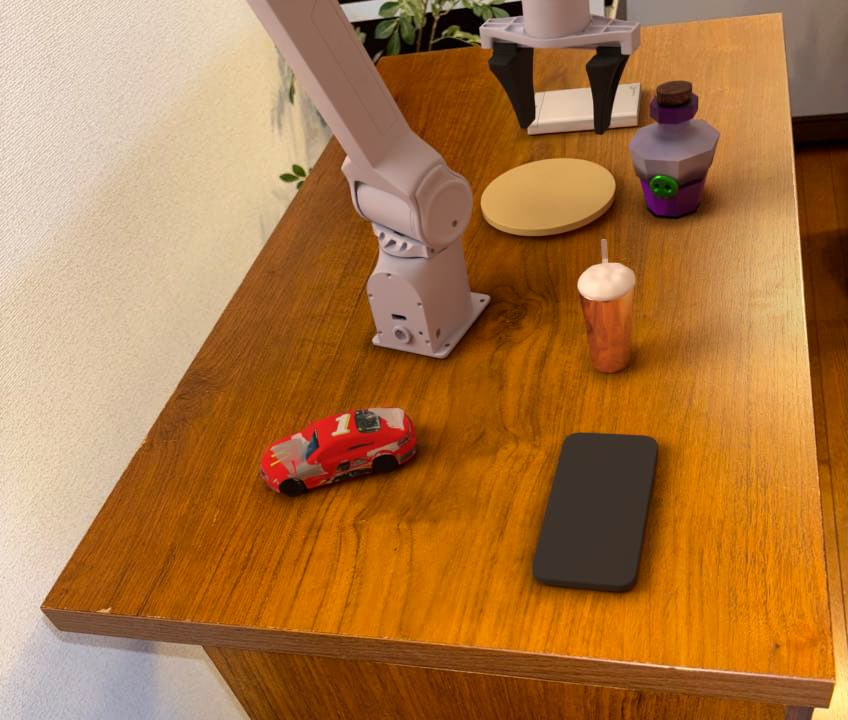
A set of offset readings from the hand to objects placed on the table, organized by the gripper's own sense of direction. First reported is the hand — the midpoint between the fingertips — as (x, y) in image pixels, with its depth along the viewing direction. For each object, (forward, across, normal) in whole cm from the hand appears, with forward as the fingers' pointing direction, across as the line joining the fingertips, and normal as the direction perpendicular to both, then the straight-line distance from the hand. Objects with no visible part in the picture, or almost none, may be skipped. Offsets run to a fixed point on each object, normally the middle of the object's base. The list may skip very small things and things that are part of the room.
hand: (564, 126), depth 93 cm
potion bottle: (+10, -9, -5) cm, 15 cm away
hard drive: (+10, +8, -22) cm, 25 cm away
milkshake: (+10, -12, +19) cm, 25 cm away
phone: (+10, -18, +36) cm, 42 cm away
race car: (+10, +4, +38) cm, 40 cm away
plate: (+10, +4, -3) cm, 11 cm away
